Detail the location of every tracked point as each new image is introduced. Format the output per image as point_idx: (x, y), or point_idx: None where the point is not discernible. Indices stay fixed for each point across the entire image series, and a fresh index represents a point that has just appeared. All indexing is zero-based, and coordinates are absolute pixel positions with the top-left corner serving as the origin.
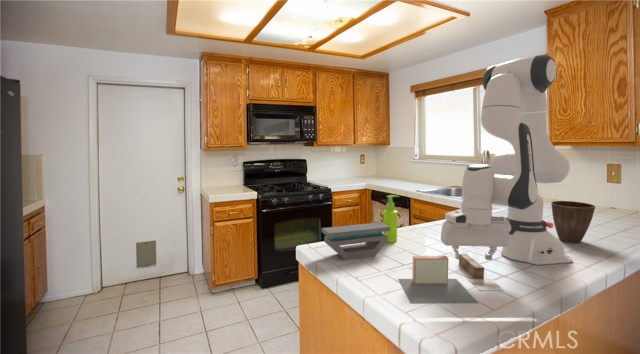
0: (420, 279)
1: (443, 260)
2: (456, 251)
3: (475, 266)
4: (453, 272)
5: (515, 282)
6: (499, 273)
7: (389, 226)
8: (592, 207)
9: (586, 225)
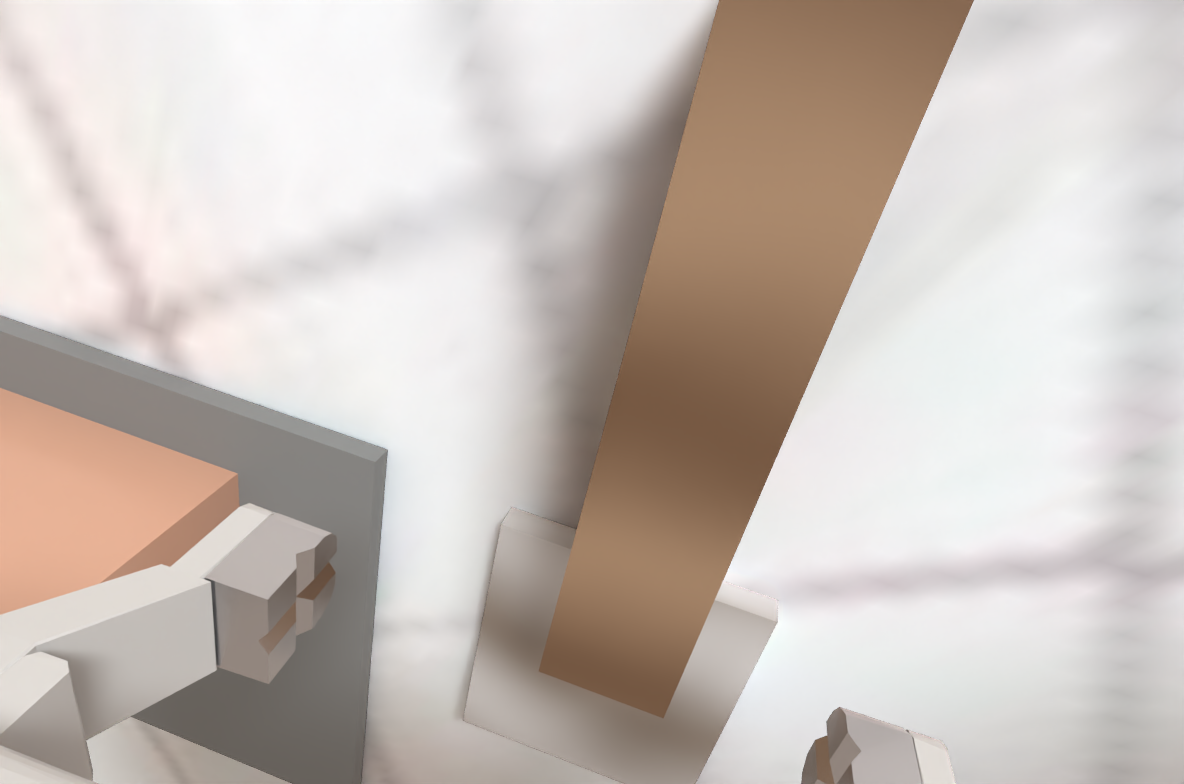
0: None
1: None
2: (106, 699)
3: (566, 644)
4: (482, 221)
5: (1049, 727)
6: (1180, 481)
7: None
8: None
9: None
